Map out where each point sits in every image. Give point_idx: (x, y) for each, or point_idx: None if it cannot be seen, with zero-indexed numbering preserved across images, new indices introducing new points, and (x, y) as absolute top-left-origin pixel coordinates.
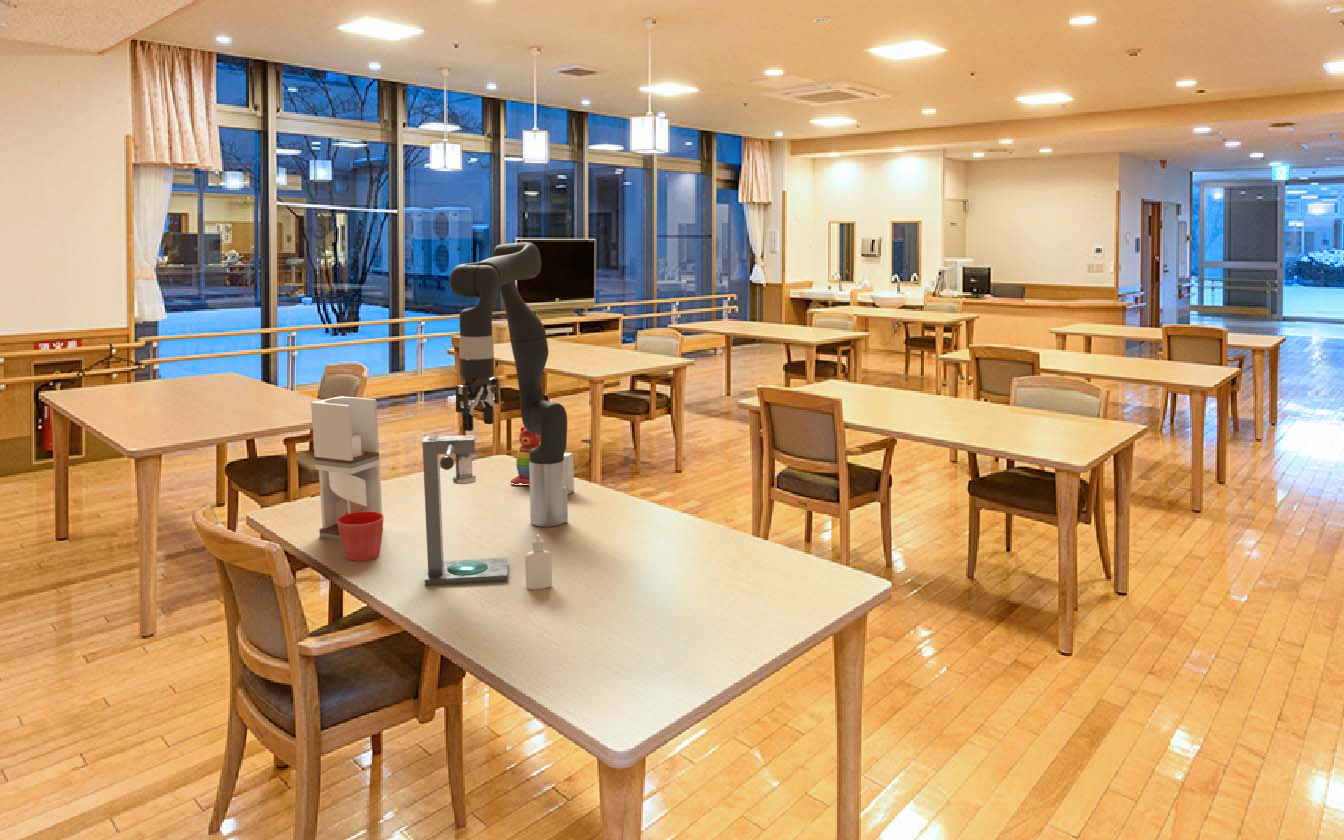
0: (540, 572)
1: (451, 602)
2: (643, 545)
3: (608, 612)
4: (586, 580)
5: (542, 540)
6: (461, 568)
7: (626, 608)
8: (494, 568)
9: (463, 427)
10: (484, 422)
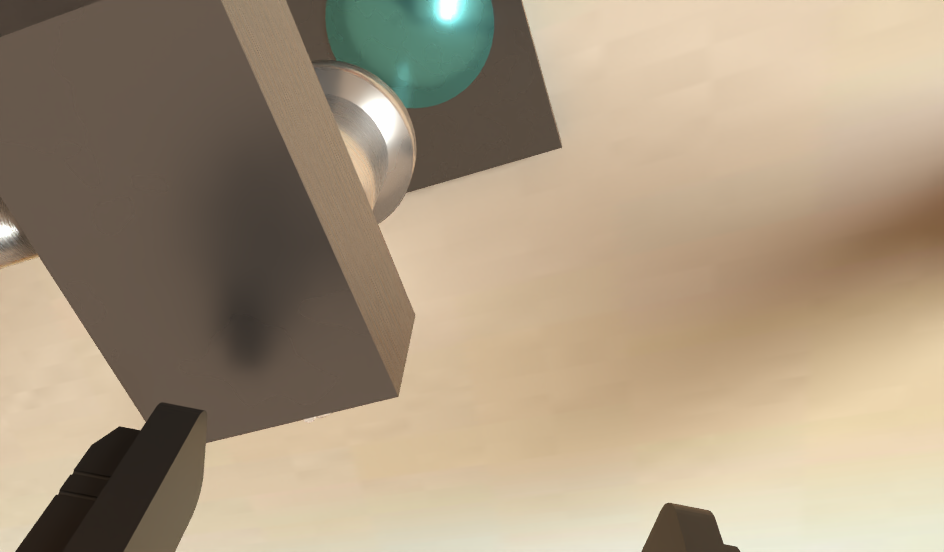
0: None
1: None
2: (783, 516)
3: (217, 500)
4: (436, 418)
5: (318, 416)
6: (392, 2)
7: (257, 532)
8: (428, 135)
9: (106, 438)
10: (671, 510)
